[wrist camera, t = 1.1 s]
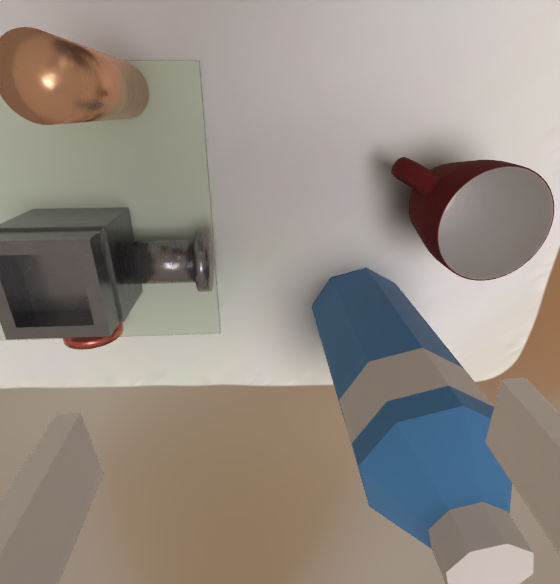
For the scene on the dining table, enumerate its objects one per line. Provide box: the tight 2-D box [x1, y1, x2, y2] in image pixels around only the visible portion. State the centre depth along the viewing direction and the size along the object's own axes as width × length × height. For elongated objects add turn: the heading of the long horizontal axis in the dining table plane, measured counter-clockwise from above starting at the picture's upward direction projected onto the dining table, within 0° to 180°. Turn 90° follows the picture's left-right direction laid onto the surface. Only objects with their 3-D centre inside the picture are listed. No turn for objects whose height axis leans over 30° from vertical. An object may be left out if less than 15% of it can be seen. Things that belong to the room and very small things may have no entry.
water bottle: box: [312, 268, 534, 584], centre depth 29 cm, size 9×9×25 cm
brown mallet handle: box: [0, 27, 149, 125], centre depth 24 cm, size 4×4×13 cm
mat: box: [0, 60, 221, 341], centre depth 34 cm, size 24×22×1 cm
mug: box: [391, 157, 554, 280], centre depth 31 cm, size 10×8×10 cm
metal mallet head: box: [0, 207, 214, 349], centre depth 32 cm, size 11×22×8 cm, turn 90°
